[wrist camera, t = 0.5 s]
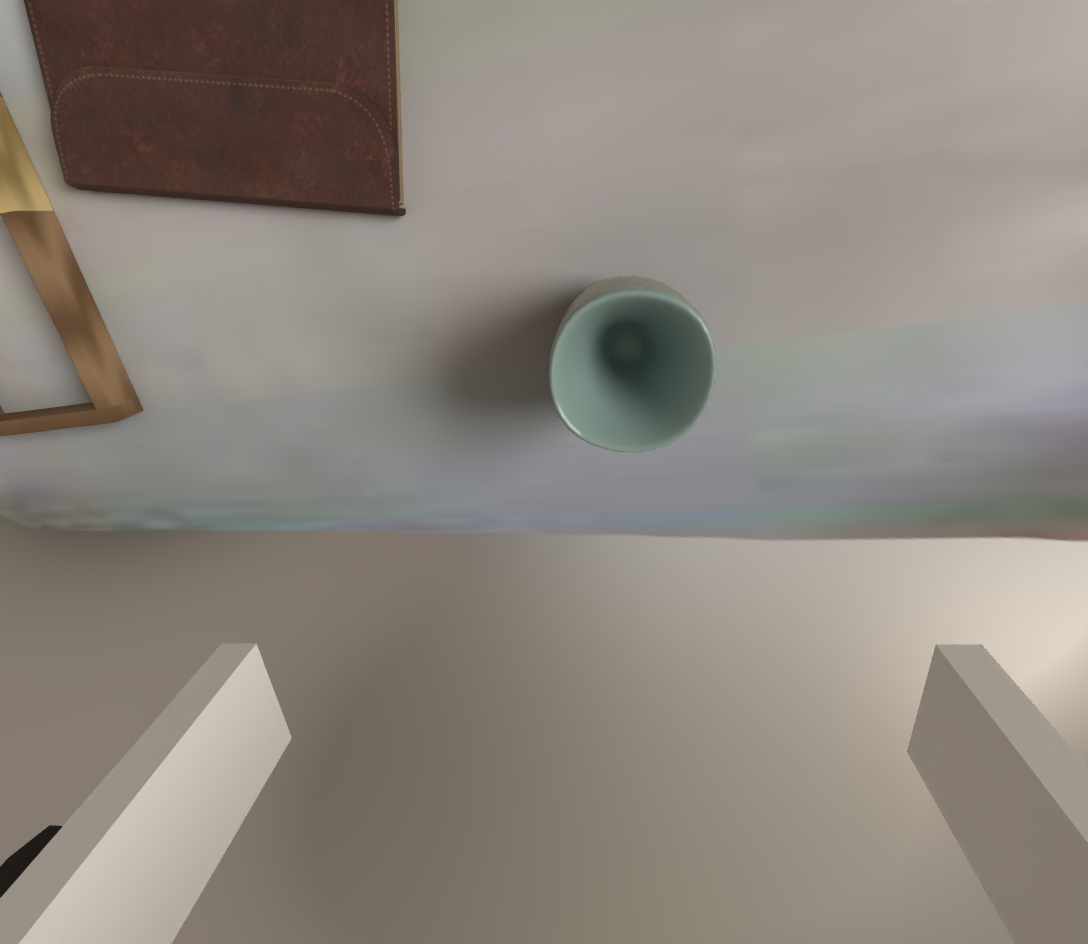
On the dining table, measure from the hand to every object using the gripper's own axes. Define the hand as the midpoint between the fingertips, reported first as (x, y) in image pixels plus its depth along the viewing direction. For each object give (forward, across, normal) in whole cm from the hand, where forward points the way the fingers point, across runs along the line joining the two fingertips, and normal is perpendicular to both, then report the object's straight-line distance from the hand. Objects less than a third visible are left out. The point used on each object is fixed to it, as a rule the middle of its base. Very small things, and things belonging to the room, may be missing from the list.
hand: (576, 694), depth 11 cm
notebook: (+28, -19, +18) cm, 39 cm away
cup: (+27, +2, +2) cm, 27 cm away
